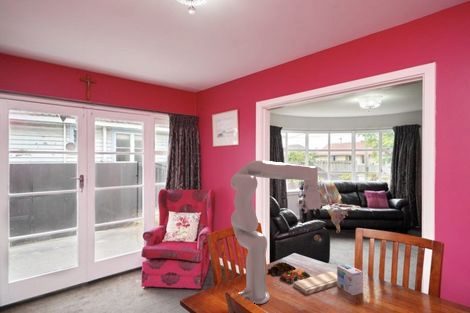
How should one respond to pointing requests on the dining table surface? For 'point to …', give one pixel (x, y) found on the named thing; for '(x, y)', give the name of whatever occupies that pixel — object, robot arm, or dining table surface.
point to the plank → (316, 282)
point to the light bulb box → (349, 279)
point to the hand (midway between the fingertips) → (311, 218)
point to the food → (287, 272)
